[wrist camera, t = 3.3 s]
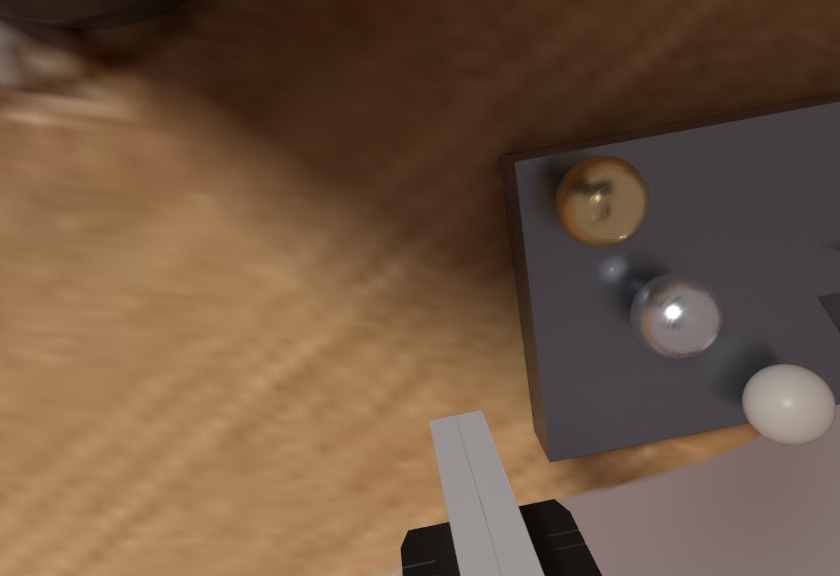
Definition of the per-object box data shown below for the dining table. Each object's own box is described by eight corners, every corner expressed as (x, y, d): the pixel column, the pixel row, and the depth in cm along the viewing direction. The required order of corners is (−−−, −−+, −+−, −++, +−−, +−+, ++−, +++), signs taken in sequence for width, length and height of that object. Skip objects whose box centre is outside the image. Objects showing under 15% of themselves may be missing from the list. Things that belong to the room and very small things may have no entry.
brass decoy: (539, 160, 22) (567, 170, 19) (624, 144, 22) (666, 152, 19) (548, 244, 23) (576, 267, 20) (629, 228, 23) (669, 249, 20)
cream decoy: (726, 359, 25) (775, 396, 22) (799, 344, 25) (859, 379, 22) (726, 425, 26) (774, 468, 23) (797, 410, 26) (853, 452, 23)
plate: (534, 431, 28) (550, 462, 26) (499, 155, 24) (514, 161, 22) (978, 342, 29) (1033, 365, 26) (1019, 59, 25) (1088, 55, 22)
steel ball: (614, 271, 23) (651, 297, 20) (693, 256, 23) (742, 280, 20) (619, 345, 24) (655, 381, 21) (695, 330, 24) (741, 364, 21)
